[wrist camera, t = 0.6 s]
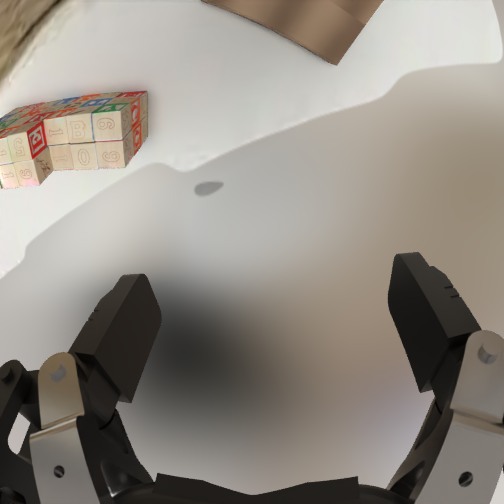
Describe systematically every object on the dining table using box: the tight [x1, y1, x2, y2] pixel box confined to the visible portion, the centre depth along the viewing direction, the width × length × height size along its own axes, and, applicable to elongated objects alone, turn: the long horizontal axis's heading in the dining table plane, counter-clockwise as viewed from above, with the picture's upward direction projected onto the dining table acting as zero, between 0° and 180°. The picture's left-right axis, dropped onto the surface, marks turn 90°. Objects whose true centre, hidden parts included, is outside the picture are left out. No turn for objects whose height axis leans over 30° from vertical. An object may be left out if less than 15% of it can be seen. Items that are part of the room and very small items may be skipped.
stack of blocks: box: [0, 91, 148, 189], centre depth 24 cm, size 21×6×12 cm, turn 83°
